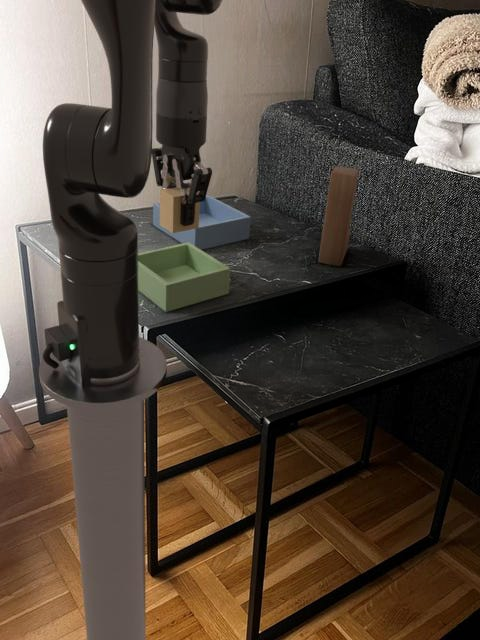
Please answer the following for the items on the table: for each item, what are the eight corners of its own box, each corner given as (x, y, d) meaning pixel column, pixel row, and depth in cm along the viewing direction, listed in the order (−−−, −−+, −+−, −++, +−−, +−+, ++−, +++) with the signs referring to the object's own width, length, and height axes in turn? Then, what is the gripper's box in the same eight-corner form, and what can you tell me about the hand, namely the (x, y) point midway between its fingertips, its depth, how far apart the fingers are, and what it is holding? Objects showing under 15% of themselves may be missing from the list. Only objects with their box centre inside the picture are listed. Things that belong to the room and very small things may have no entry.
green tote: (165, 312, 97) (166, 285, 95) (126, 281, 106) (126, 255, 103) (228, 293, 104) (230, 268, 102) (187, 266, 113) (188, 242, 110)
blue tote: (194, 251, 119) (195, 228, 116) (152, 225, 129) (152, 203, 127) (249, 238, 126) (250, 216, 124) (205, 214, 137) (206, 194, 134)
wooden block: (325, 246, 126) (338, 159, 117) (347, 250, 125) (362, 162, 116) (317, 263, 118) (331, 171, 109) (340, 267, 117) (356, 175, 108)
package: (172, 233, 97) (173, 197, 94) (159, 225, 99) (159, 189, 96) (198, 228, 100) (200, 192, 97) (185, 220, 102) (186, 185, 99)
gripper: (135, 102, 93) (136, 210, 101) (187, 123, 84) (184, 239, 92) (176, 99, 97) (174, 203, 106) (231, 119, 88) (224, 230, 96)
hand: (179, 219), depth 99 cm, fingers closed on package, 4 cm apart
